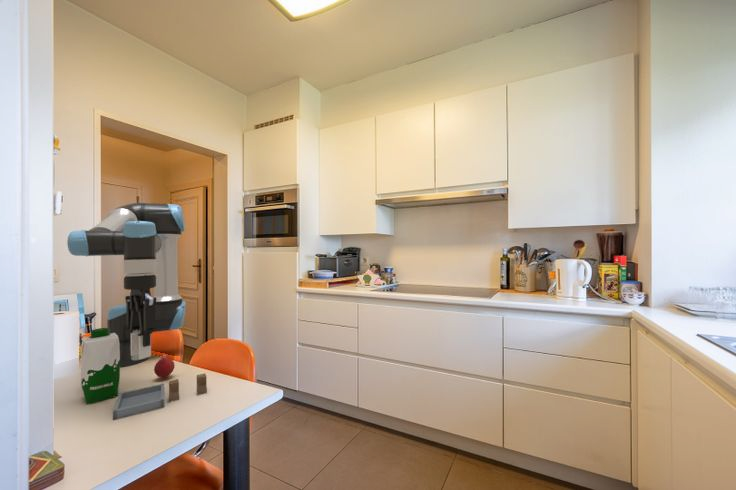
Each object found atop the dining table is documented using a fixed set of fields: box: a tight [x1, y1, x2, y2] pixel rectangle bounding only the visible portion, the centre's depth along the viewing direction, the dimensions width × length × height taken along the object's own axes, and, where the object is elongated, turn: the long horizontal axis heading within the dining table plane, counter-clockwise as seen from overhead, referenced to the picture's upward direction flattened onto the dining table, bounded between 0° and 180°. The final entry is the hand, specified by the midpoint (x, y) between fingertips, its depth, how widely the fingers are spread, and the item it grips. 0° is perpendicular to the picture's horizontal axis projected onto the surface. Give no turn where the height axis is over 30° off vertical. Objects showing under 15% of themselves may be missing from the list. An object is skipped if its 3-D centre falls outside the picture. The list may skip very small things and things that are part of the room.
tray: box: [112, 383, 165, 421], centre depth 88 cm, size 13×11×2 cm
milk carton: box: [80, 327, 121, 405], centre depth 93 cm, size 9×9×20 cm
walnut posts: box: [168, 373, 208, 403], centre depth 92 cm, size 3×10×5 cm, turn 123°
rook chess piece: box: [131, 329, 144, 360], centre depth 88 cm, size 4×4×8 cm
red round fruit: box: [153, 354, 175, 379], centre depth 106 cm, size 6×6×8 cm
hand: (140, 356), depth 88 cm, fingers closed on rook chess piece, 4 cm apart
